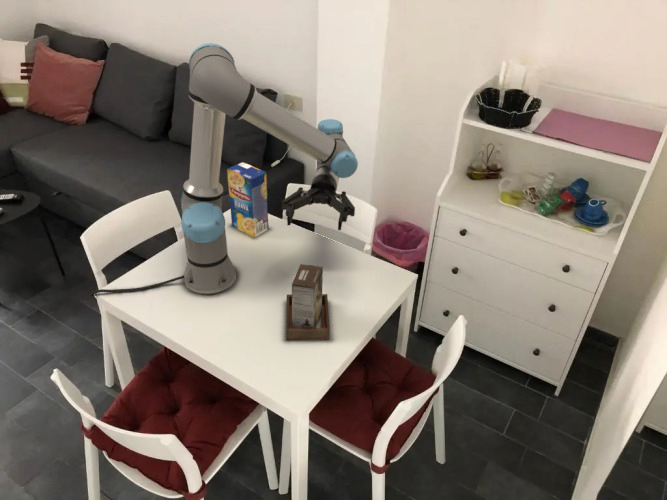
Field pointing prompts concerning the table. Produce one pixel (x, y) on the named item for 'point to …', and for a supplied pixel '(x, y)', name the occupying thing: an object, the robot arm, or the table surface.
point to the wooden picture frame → (308, 332)
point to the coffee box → (307, 296)
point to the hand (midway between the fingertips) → (314, 223)
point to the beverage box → (248, 199)
